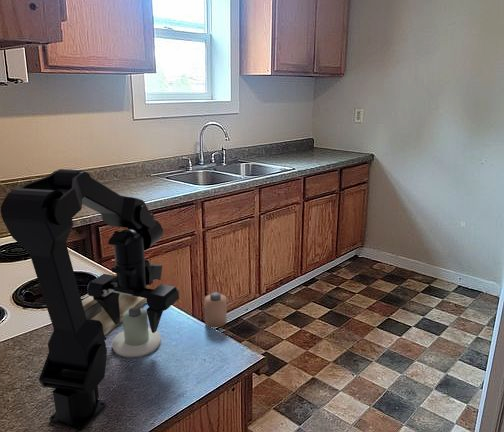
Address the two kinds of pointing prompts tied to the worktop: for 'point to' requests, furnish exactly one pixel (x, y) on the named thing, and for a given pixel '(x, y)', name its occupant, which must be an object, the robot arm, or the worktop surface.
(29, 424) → the worktop surface
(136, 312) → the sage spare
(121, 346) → the ceramic plate
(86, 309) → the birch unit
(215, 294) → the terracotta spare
